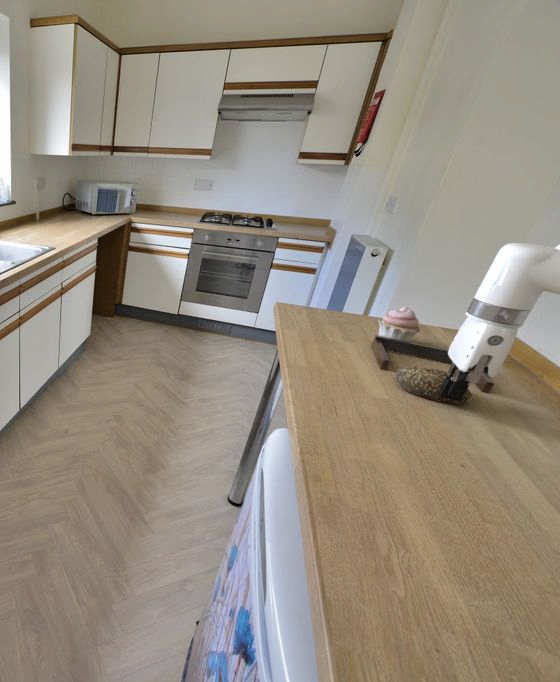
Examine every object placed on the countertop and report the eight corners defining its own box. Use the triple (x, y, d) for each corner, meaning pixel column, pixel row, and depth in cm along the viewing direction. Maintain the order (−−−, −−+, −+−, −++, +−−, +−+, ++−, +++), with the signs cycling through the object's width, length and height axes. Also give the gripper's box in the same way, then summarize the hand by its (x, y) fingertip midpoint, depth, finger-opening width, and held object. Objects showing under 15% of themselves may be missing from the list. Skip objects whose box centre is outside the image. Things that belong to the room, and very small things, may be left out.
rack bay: (465, 365, 101) (471, 353, 100) (488, 393, 89) (496, 380, 87) (371, 345, 110) (375, 335, 108) (380, 369, 97) (385, 357, 96)
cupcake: (363, 334, 117) (376, 301, 113) (390, 333, 118) (404, 300, 114) (393, 348, 108) (409, 313, 104) (422, 347, 110) (438, 312, 106)
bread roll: (393, 389, 88) (402, 369, 86) (395, 370, 97) (404, 351, 95) (473, 413, 81) (486, 392, 79) (468, 390, 90) (479, 370, 88)
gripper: (545, 331, 67) (487, 422, 75) (506, 305, 79) (459, 386, 87) (485, 320, 70) (435, 409, 78) (456, 297, 82) (416, 376, 90)
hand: (448, 397), depth 82 cm, fingers closed
